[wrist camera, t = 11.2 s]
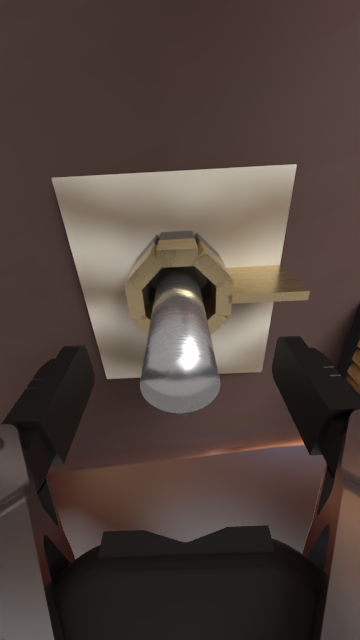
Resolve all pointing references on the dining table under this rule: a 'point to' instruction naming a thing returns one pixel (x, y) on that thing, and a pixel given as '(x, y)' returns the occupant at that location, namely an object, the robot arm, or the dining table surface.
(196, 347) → the hinge pin
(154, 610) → the robot arm
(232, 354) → the base plate with nut
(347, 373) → the ammunition clip
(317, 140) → the dining table surface
